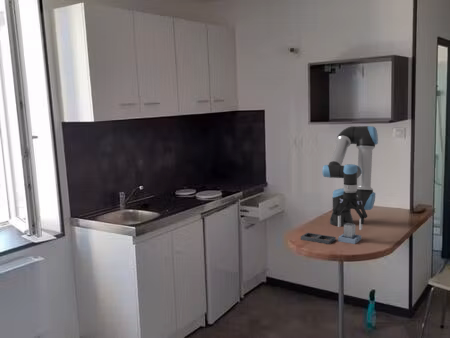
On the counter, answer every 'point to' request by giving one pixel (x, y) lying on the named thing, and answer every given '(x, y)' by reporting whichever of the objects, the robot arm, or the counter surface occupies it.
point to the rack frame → (318, 238)
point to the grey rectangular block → (349, 230)
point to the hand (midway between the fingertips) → (349, 228)
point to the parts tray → (348, 240)
